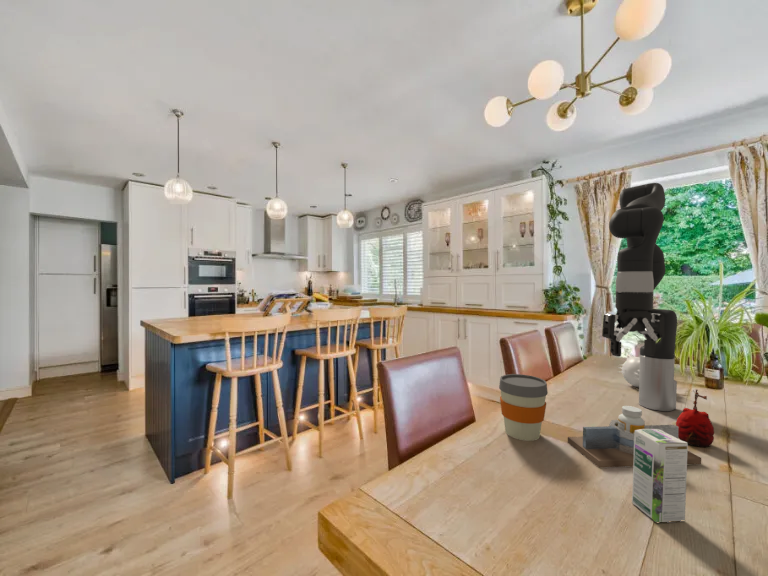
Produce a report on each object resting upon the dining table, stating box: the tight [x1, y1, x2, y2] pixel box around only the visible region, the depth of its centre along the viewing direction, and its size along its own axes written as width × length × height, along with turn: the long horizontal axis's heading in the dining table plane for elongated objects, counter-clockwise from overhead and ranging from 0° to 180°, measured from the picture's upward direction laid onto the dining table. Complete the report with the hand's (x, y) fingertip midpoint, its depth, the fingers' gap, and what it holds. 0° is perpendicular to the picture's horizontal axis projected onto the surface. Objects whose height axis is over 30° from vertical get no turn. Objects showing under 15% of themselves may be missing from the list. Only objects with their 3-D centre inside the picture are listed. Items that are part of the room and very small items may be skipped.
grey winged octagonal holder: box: [582, 419, 679, 455], centre depth 85 cm, size 24×8×5 cm, turn 94°
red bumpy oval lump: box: [675, 389, 715, 448], centre depth 90 cm, size 8×7×15 cm
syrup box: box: [631, 429, 689, 523], centre depth 63 cm, size 6×6×14 cm
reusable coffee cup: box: [498, 373, 549, 442], centre depth 95 cm, size 13×13×15 cm
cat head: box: [616, 353, 640, 389], centre depth 136 cm, size 15×13×12 cm
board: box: [567, 435, 702, 468], centre depth 85 cm, size 25×12×2 cm, turn 94°
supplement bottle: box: [617, 405, 646, 433], centre depth 85 cm, size 5×5×10 cm
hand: (632, 355), depth 84 cm, fingers open, 8 cm apart
